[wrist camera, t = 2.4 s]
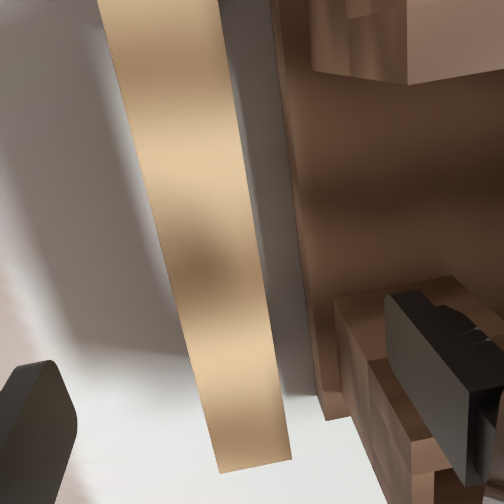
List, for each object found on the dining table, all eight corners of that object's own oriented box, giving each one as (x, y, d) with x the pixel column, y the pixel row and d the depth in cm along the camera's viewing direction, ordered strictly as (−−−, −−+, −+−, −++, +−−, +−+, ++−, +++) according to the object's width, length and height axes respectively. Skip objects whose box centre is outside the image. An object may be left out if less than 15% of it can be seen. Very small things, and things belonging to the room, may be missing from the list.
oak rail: (128, -6, 18) (85, -44, 11) (204, -19, 18) (207, -63, 11) (214, 360, 25) (219, 473, 18) (266, 350, 25) (292, 459, 19)
